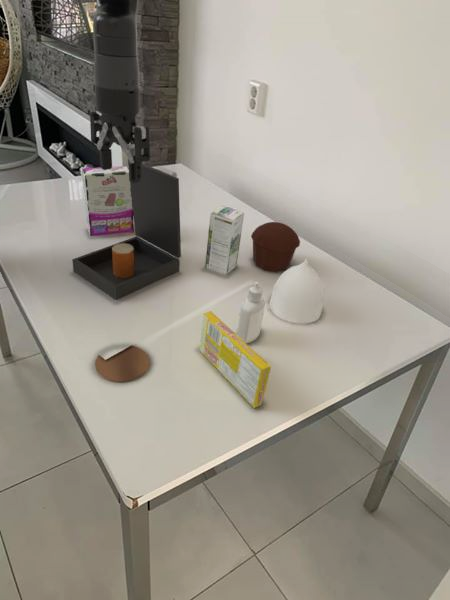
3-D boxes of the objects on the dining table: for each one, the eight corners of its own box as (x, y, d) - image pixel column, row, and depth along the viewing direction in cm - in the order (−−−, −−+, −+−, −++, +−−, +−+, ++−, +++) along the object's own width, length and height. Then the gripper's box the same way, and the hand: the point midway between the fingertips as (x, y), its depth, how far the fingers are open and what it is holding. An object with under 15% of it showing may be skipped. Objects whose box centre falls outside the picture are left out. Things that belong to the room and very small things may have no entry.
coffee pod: (122, 280, 96) (121, 255, 93) (108, 272, 99) (107, 247, 95) (138, 273, 99) (138, 248, 96) (125, 265, 102) (124, 241, 98)
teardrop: (321, 328, 91) (335, 277, 84) (266, 318, 92) (276, 267, 85) (321, 298, 100) (334, 250, 93) (272, 289, 101) (281, 241, 94)
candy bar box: (129, 226, 120) (128, 165, 111) (134, 234, 116) (133, 172, 107) (86, 230, 116) (81, 167, 107) (90, 238, 112) (84, 174, 103)
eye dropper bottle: (266, 339, 86) (276, 286, 79) (240, 345, 83) (248, 291, 77) (255, 326, 89) (264, 274, 82) (230, 331, 87) (237, 278, 80)
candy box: (264, 404, 72) (272, 365, 67) (253, 409, 71) (261, 370, 66) (208, 346, 82) (211, 309, 78) (198, 350, 81) (201, 313, 77)
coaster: (118, 390, 71) (118, 389, 71) (84, 362, 76) (83, 360, 76) (160, 364, 77) (160, 362, 77) (126, 339, 82) (126, 337, 82)
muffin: (240, 265, 108) (245, 227, 103) (257, 247, 117) (263, 211, 111) (286, 280, 105) (294, 241, 99) (301, 260, 113) (309, 224, 108)
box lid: (175, 179, 88) (193, 172, 91) (127, 159, 96) (145, 153, 99) (178, 258, 100) (193, 250, 103) (135, 235, 107) (150, 227, 110)
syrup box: (215, 260, 109) (220, 204, 101) (237, 267, 107) (244, 210, 99) (204, 270, 105) (209, 212, 97) (227, 278, 103) (233, 219, 95)
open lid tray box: (116, 303, 91) (115, 287, 89) (73, 274, 98) (72, 259, 96) (179, 274, 102) (179, 259, 100) (136, 250, 110) (136, 236, 107)
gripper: (74, 77, 79) (81, 168, 88) (126, 93, 72) (129, 190, 81) (109, 75, 84) (113, 162, 93) (161, 89, 77) (160, 182, 86)
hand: (120, 175), depth 87 cm, fingers open, 8 cm apart
